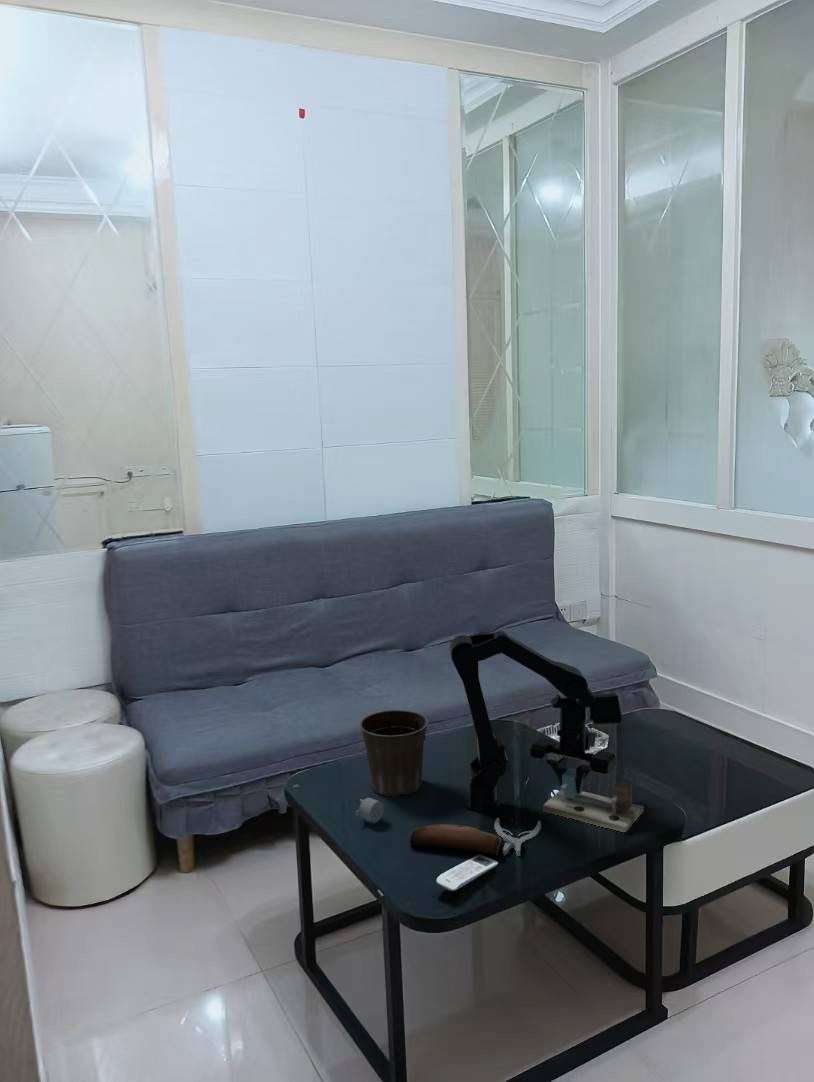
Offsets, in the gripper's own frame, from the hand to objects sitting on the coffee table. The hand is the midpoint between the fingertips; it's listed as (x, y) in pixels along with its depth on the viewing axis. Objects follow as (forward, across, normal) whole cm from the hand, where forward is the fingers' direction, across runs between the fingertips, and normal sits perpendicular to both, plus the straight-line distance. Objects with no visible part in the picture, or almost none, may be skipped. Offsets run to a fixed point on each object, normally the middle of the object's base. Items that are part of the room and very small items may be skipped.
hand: (572, 790), depth 193 cm
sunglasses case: (+3, +13, +29) cm, 32 cm away
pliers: (+4, +4, +20) cm, 21 cm away
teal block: (+1, 0, +1) cm, 2 cm away
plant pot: (+3, +39, +13) cm, 42 cm away
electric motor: (+3, +34, +30) cm, 46 cm away
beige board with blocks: (+3, -6, +2) cm, 7 cm away
